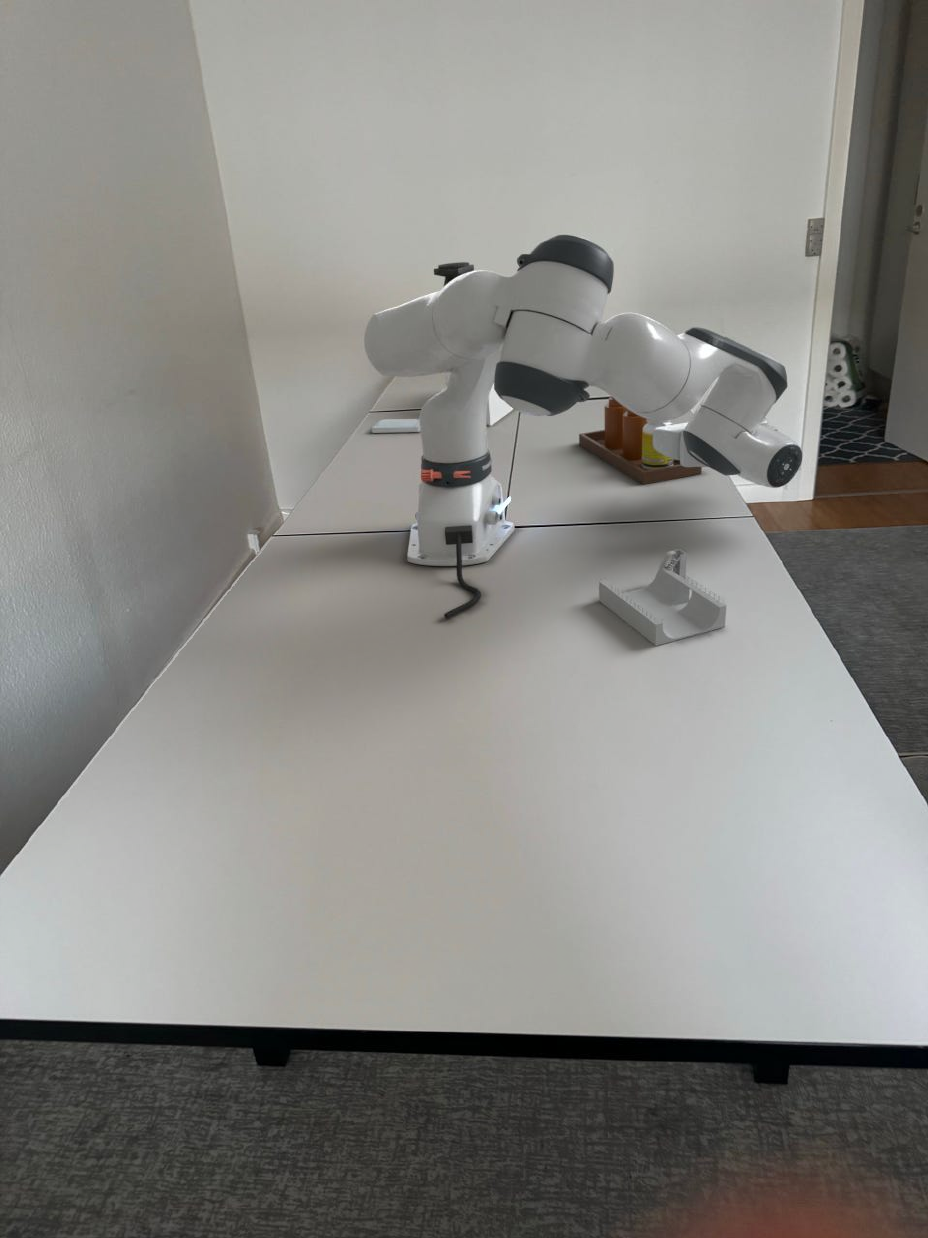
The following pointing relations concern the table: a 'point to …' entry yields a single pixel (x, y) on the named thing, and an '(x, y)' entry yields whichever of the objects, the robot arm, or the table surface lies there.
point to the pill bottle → (649, 454)
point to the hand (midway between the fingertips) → (688, 422)
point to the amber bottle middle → (632, 435)
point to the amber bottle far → (614, 424)
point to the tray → (633, 461)
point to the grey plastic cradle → (666, 604)
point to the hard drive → (396, 426)
